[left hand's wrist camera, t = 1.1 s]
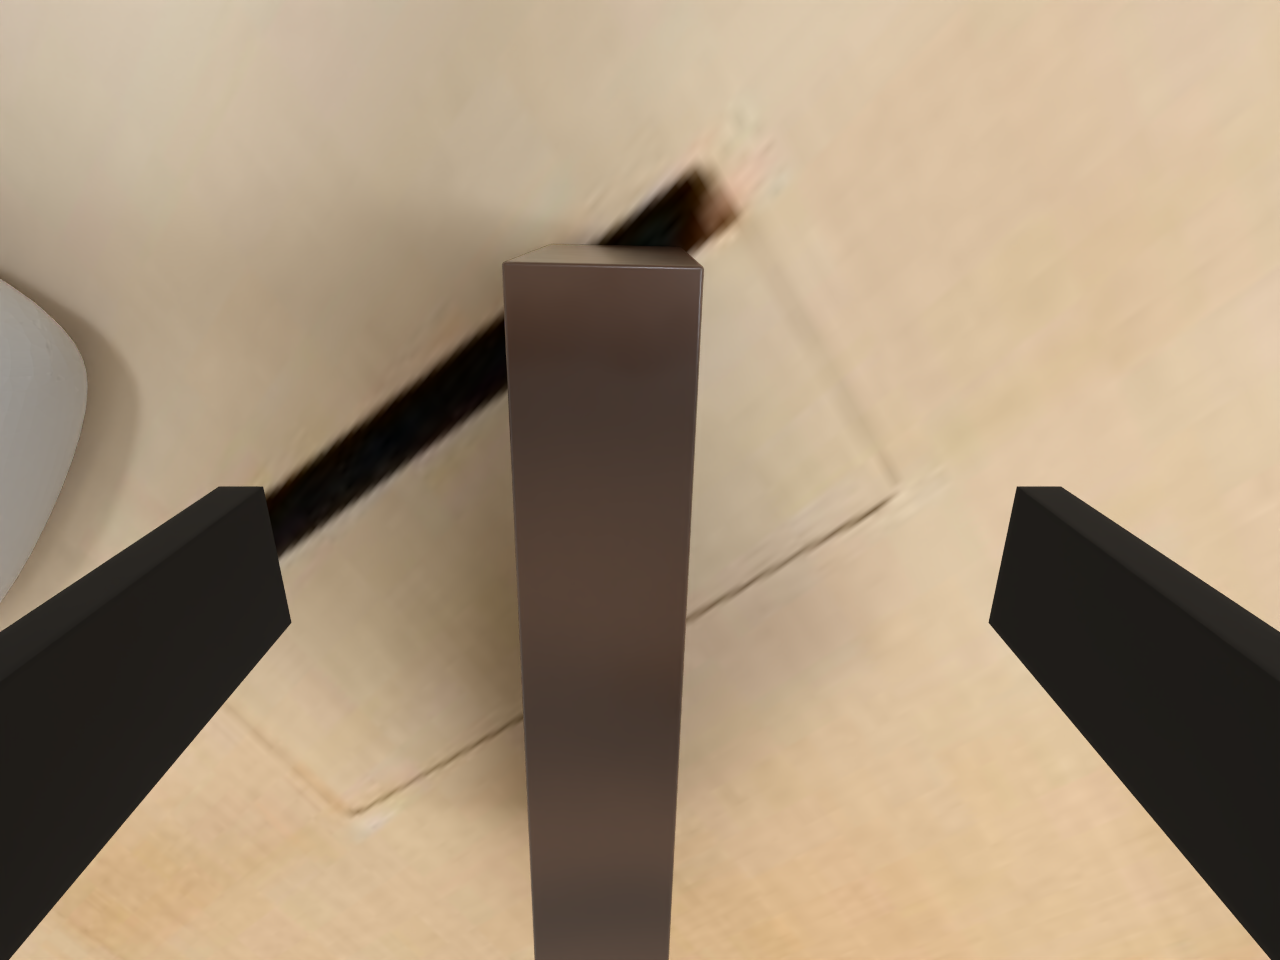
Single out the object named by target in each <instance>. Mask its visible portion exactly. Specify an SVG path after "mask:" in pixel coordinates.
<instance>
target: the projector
mask: <svg viewBox="0 0 1280 960" xmlns="http://www.w3.org/2000/svg"><path fill="white" fill-rule="evenodd" d="M87 391H88V381H87V372H86V368H85V364H84V361H83V358H82V356H81V354H80V352H79V350H78V348H77V346H76V345H75V343H74V342H73V340H72V339H71V338H70V336H69V335H68V334H67V333H66V332H65V330H64V329H63V328H62V327H61V326H60V325H59V324H58V323H57V322H56V321H55V320H54V319H53V318H52V317H51V316H50V315H48V314H47V313H46V312H45V311H44V310H43V309H42V308H41V307H40V306H38V305H37V304H36V303H35V302H33V301H32V300H31V299H29V298H28V297H27V296H25V295H24V294H22V293H21V292H20V291H18V290H17V289H15V288H14V287H12V286H11V285H9V284H8V283H6V282H5V281H3V280H1V279H0V603H1V601H2V600H3V598H4V597H5V595H6V594H7V592H8V591H9V589H10V588H11V587H12V585H13V584H14V582H15V580H16V579H17V577H18V575H19V574H20V572H21V570H22V568H23V567H24V565H25V563H26V562H27V560H28V558H29V556H30V555H31V553H32V551H33V549H34V547H35V545H36V543H37V541H38V539H39V537H40V535H41V533H42V531H43V529H44V527H45V525H46V523H47V521H48V519H49V516H50V514H51V512H52V510H53V507H54V505H55V503H56V501H57V498H58V496H59V494H60V491H61V489H62V486H63V484H64V481H65V479H66V476H67V473H68V471H69V468H70V465H71V463H72V460H73V457H74V454H75V450H76V447H77V444H78V441H79V437H80V434H81V430H82V425H83V421H84V416H85V412H86V402H87Z"/></svg>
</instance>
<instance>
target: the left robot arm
mask: <svg viewBox="0 0 1280 960" xmlns="http://www.w3.org/2000/svg"><path fill="white" fill-rule="evenodd" d="M290 624H291V619H290V614H289V609H288V604H287V599H286V594H285V590H284V585H283V580H282V575H281V570H280V566H279V561H278V556H277V551H276V546H275V542H274V537H273V532H272V527H271V522H270V518H269V513H268V508H267V503H266V498H265V494H264V489H263V487H218V488H216V489H215V490H213V491H212V492H210V493H209V494H207V495H206V496H204V497H203V498H201V499H200V500H198V501H197V502H195V503H194V504H192V505H191V506H189V507H188V508H186V509H185V510H183V511H182V512H180V513H179V514H177V515H176V516H174V517H173V518H171V519H170V520H168V521H167V522H165V523H164V524H162V525H161V526H159V527H158V528H156V529H155V530H153V531H152V532H150V533H149V534H147V535H146V536H144V537H143V538H141V539H140V540H138V541H137V542H135V543H134V544H132V545H130V546H129V547H127V548H126V549H124V550H123V551H121V552H120V553H118V554H117V555H115V556H114V557H112V558H111V559H109V560H108V561H106V562H105V563H103V564H102V565H100V566H99V567H97V568H96V569H94V570H93V571H91V572H90V573H88V574H87V575H85V576H84V577H82V578H81V579H79V580H78V581H76V582H75V583H73V584H72V585H70V586H69V587H67V588H66V589H64V590H63V591H61V592H60V593H58V594H57V595H55V596H54V597H52V598H51V599H49V600H48V601H46V602H45V603H43V604H42V605H40V606H39V607H37V608H36V609H34V610H33V611H31V612H30V613H28V614H27V615H25V616H24V617H22V618H21V619H19V620H18V621H16V622H15V623H13V624H12V625H10V626H9V627H7V628H6V629H4V630H3V631H1V632H0V960H9V959H10V958H11V957H12V955H13V954H14V953H15V952H16V951H17V949H18V948H19V947H20V946H21V945H22V944H23V942H24V941H25V940H26V939H27V938H28V936H29V935H30V934H31V933H32V932H33V930H34V929H35V928H36V927H37V926H38V924H39V923H40V922H41V921H42V920H43V918H44V917H45V916H46V915H47V914H48V912H49V911H50V910H51V909H52V908H53V907H54V905H55V904H56V903H57V902H58V901H59V899H60V898H61V897H62V896H63V895H64V893H65V892H66V891H67V890H68V889H69V887H70V886H71V885H72V884H73V883H74V881H75V880H76V879H77V878H78V877H79V875H80V874H81V873H82V872H83V871H84V870H85V868H86V867H87V866H88V865H89V864H90V862H91V861H92V860H93V859H94V858H95V856H96V855H97V854H98V853H99V852H100V850H101V849H102V848H103V847H104V846H105V844H106V843H107V842H108V841H109V840H110V839H111V837H112V836H113V835H114V834H115V833H116V831H117V830H118V829H119V828H120V827H121V825H122V824H123V823H124V822H125V821H126V819H127V818H128V817H129V816H130V815H131V813H132V812H133V811H134V810H135V809H136V807H137V806H138V805H139V804H140V803H141V802H142V800H143V799H144V798H145V797H146V796H147V794H148V793H149V792H150V791H151V790H152V788H153V787H154V786H155V785H156V784H157V782H158V781H159V780H160V779H161V778H162V776H163V775H164V774H165V773H166V772H167V770H168V769H169V768H170V767H171V766H172V765H173V763H174V762H175V761H176V760H177V759H178V757H179V756H180V755H181V754H182V753H183V751H184V750H185V749H186V748H187V747H188V745H189V744H190V743H191V742H192V741H193V739H194V738H195V737H196V736H197V735H198V733H199V732H200V731H201V730H202V729H203V728H204V726H205V725H206V724H207V723H208V722H209V720H210V719H211V718H212V717H213V716H214V714H215V713H216V712H217V711H218V710H219V708H220V707H221V706H222V705H223V704H224V702H225V701H226V700H227V699H228V698H229V697H230V695H231V694H232V693H233V692H234V691H235V689H236V688H237V687H238V686H239V685H240V683H241V682H242V681H243V680H244V679H245V677H246V676H247V675H248V674H249V673H250V671H251V670H252V669H253V668H254V667H255V665H256V664H257V663H258V662H259V661H260V660H261V658H262V657H263V656H264V655H265V654H266V652H267V651H268V650H269V649H270V648H271V646H272V645H273V644H274V643H275V642H276V640H277V639H278V638H279V637H280V636H281V634H282V633H283V632H284V631H285V630H286V628H287V627H288V626H289V625H290ZM989 624H990V625H991V626H992V627H993V628H994V630H995V631H996V632H997V633H998V634H999V636H1000V637H1001V638H1002V639H1003V640H1004V642H1005V643H1006V644H1007V645H1008V646H1009V648H1010V649H1011V650H1012V651H1013V652H1014V654H1015V655H1016V656H1017V657H1018V658H1019V660H1020V661H1021V662H1022V663H1023V664H1024V665H1025V667H1026V668H1027V669H1028V670H1029V671H1030V673H1031V674H1032V675H1033V676H1034V677H1035V679H1036V680H1037V681H1038V682H1039V683H1040V685H1041V686H1042V687H1043V688H1044V689H1045V691H1046V692H1047V693H1048V694H1049V695H1050V697H1051V698H1052V699H1053V700H1054V701H1055V702H1056V704H1057V705H1058V706H1059V707H1060V708H1061V710H1062V711H1063V712H1064V713H1065V714H1066V716H1067V717H1068V718H1069V719H1070V720H1071V722H1072V723H1073V724H1074V725H1075V726H1076V728H1077V729H1078V730H1079V731H1080V732H1081V733H1082V735H1083V736H1084V737H1085V738H1086V739H1087V741H1088V742H1089V743H1090V744H1091V745H1092V747H1093V748H1094V749H1095V750H1096V751H1097V753H1098V754H1099V755H1100V756H1101V757H1102V759H1103V760H1104V761H1105V762H1106V763H1107V765H1108V766H1109V767H1110V768H1111V769H1112V770H1113V772H1114V773H1115V774H1116V775H1117V776H1118V778H1119V779H1120V780H1121V781H1122V782H1123V784H1124V785H1125V786H1126V787H1127V788H1128V790H1129V791H1130V792H1131V793H1132V794H1133V796H1134V797H1135V798H1136V799H1137V800H1138V802H1139V803H1140V804H1141V805H1142V806H1143V807H1144V809H1145V810H1146V811H1147V812H1148V813H1149V815H1150V816H1151V817H1152V818H1153V819H1154V821H1155V822H1156V823H1157V824H1158V825H1159V827H1160V828H1161V829H1162V830H1163V831H1164V833H1165V834H1166V835H1167V836H1168V837H1169V839H1170V840H1171V841H1172V842H1173V843H1174V844H1175V846H1176V847H1177V848H1178V849H1179V850H1180V852H1181V853H1182V854H1183V855H1184V856H1185V858H1186V859H1187V860H1188V861H1189V862H1190V864H1191V865H1192V866H1193V867H1194V868H1195V870H1196V871H1197V872H1198V873H1199V874H1200V876H1201V877H1202V878H1203V879H1204V880H1205V881H1206V883H1207V884H1208V885H1209V886H1210V887H1211V889H1212V890H1213V891H1214V892H1215V893H1216V895H1217V896H1218V897H1219V898H1220V899H1221V901H1222V902H1223V903H1224V904H1225V905H1226V907H1227V908H1228V909H1229V910H1230V911H1231V912H1232V914H1233V915H1234V916H1235V917H1236V918H1237V920H1238V921H1239V922H1240V923H1241V924H1242V926H1243V927H1244V928H1245V929H1246V930H1247V932H1248V933H1249V934H1250V935H1251V936H1252V938H1253V939H1254V940H1255V941H1256V942H1257V944H1258V945H1259V946H1260V947H1261V948H1262V949H1263V951H1264V952H1265V953H1266V954H1267V955H1268V957H1269V958H1270V959H1271V960H1280V632H1279V631H1277V630H1276V629H1274V628H1273V627H1271V626H1270V625H1268V624H1267V623H1265V622H1264V621H1262V620H1261V619H1259V618H1258V617H1256V616H1255V615H1253V614H1252V613H1250V612H1249V611H1247V610H1246V609H1244V608H1243V607H1241V606H1240V605H1238V604H1237V603H1235V602H1234V601H1232V600H1231V599H1229V598H1228V597H1226V596H1225V595H1223V594H1222V593H1220V592H1219V591H1217V590H1216V589H1214V588H1213V587H1211V586H1210V585H1208V584H1207V583H1205V582H1204V581H1202V580H1201V579H1199V578H1198V577H1196V576H1195V575H1193V574H1192V573H1190V572H1189V571H1187V570H1186V569H1184V568H1183V567H1181V566H1180V565H1178V564H1177V563H1175V562H1174V561H1172V560H1171V559H1169V558H1168V557H1166V556H1165V555H1163V554H1162V553H1160V552H1159V551H1157V550H1156V549H1154V548H1153V547H1151V546H1150V545H1148V544H1146V543H1145V542H1143V541H1142V540H1140V539H1139V538H1137V537H1136V536H1134V535H1133V534H1131V533H1130V532H1128V531H1127V530H1125V529H1124V528H1122V527H1121V526H1119V525H1118V524H1116V523H1115V522H1113V521H1112V520H1110V519H1109V518H1107V517H1106V516H1104V515H1103V514H1101V513H1100V512H1098V511H1097V510H1095V509H1094V508H1092V507H1091V506H1089V505H1088V504H1086V503H1085V502H1083V501H1082V500H1080V499H1079V498H1077V497H1076V496H1074V495H1073V494H1071V493H1070V492H1068V491H1067V490H1065V489H1064V488H1062V487H1017V489H1016V494H1015V498H1014V503H1013V508H1012V513H1011V518H1010V522H1009V527H1008V532H1007V537H1006V542H1005V546H1004V551H1003V556H1002V561H1001V566H1000V570H999V575H998V580H997V585H996V590H995V594H994V599H993V604H992V609H991V614H990V619H989Z"/></svg>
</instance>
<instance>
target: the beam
mask: <svg viewBox="0 0 1280 960" xmlns="http://www.w3.org/2000/svg"><path fill="white" fill-rule="evenodd" d="M502 273H503V294H504V316H505V337H506V358H507V380H508V401H509V422H510V444H511V465H512V486H513V507H514V529H515V550H516V571H517V593H518V614H519V635H520V657H521V678H522V699H523V721H524V742H525V763H526V784H527V806H528V827H529V848H530V870H531V891H532V912H533V934H534V955H535V960H669V943H670V924H671V904H672V884H673V865H674V845H675V826H676V806H677V787H678V767H679V747H680V728H681V708H682V689H683V669H684V649H685V630H686V610H687V591H688V571H689V551H690V532H691V512H692V493H693V473H694V453H695V434H696V414H697V395H698V375H699V355H700V336H701V316H702V297H703V277H704V268H703V266H701V265H700V264H699V263H698V262H697V261H696V260H695V259H693V258H692V257H691V256H690V255H689V254H688V253H687V252H685V251H684V250H683V249H682V248H681V247H669V246H623V245H577V244H550V245H547V246H545V247H542V248H540V249H537V250H534V251H532V252H529V253H526V254H524V255H521V256H518V257H516V258H513V259H511V260H508V261H505V262H503V264H502Z"/></svg>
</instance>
